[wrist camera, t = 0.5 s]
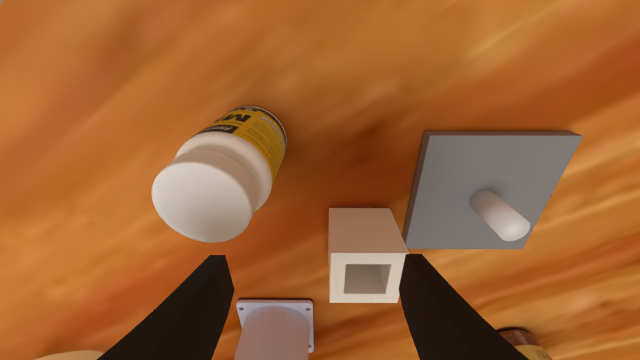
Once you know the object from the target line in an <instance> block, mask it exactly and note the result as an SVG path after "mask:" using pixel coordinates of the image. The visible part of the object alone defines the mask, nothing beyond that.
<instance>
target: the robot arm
mask: <svg viewBox="0 0 640 360" xmlns="http://www.w3.org/2000/svg"><path fill="white" fill-rule="evenodd" d="M233 293H234V286H233V283H232V279H231V275H230V272H229V268H228V264H227V260H226V257H225V255H210V256H209V257H208V258H207V259H206V260H205V261H204V262H203V263H202V264H201V265H200V266H199V267H198V268H197V269H196V270H195V271H194V272H193V273H192V274H191V275H190V276H189V277H188V278H187V279H186V280H185V281H184V282H183V283H182V284H181V285H180V286H179V287H178V288H177V289H176V290H175V291H174V292H173V293H171V294H170V295H169V296H168V297H167V298H166V299H165V300H164V301H163V302H162V303H161V304H160V305H159V306H158V307H157V308H156V309H155V310H154V311H153V312H152V313H150V314H149V315H148V316H147V317H146V318H145V319H144V320H143V321H142V322H141V323H139V324H138V325H137V326H136V327H135V328H134V329H133V330H132V331H131V332H129V333H128V334H127V335H126V336H125V337H124V338H122V339H121V340H120V341H119V342H118V343H117V344H115V345H114V346H113V347H112V348H111V349H109V350H108V351H107V352H106V353H104V354H103V355H102V356H101V357H99V358H98V359H97V360H211V359H212V356H213V354H214V351H215V348H216V346H217V343H218V340H219V338H220V335H221V333H222V330H223V327H224V325H225V322H226V319H227V316H228V313H229V309H230V305H231V301H232V297H233ZM399 293H400V298H401V302H402V306H403V310H404V314H405V318H406V321H407V324H408V327H409V329H410V332H411V335H412V338H413V341H414V344H415V347H416V349H417V352H418V355H419V358H420V360H529V359H528V358H527V357H526V356H524V355H523V354H522V353H521V352H520V351H519V350H517V349H516V348H515V347H514V346H513V345H511V344H510V343H509V342H508V341H507V340H506V339H505V338H504V337H503V336H501V335H500V334H499V333H498V332H497V331H496V330H495V329H494V328H493V327H492V326H491V325H490V324H489V323H487V322H486V321H485V320H484V319H483V318H482V317H481V316H480V315H479V314H478V313H477V312H476V311H475V310H474V309H473V308H472V307H471V306H470V305H469V304H468V303H467V302H466V301H465V300H464V299H463V298H462V297H461V296H460V295H459V294H458V293H457V292H456V291H455V290H454V289H453V288H452V287H451V285H450V284H449V283H448V282H447V281H446V280H445V279H444V278H443V277H442V276H441V275H440V274H439V273H438V271H437V270H436V269H435V268H434V267H433V266H432V265H431V264H430V263H429V262H428V261H427V260H426V258H425V257H424V256H423V255H422V254H406V255H405V260H404V265H403V270H402V275H401V279H400V284H399ZM236 307H237V311H238V315H239V319H240V322H241V326H242V332H241V336H240V339H239V343H238V346H237V350H236V353H235V357H234V360H308V353H311V352H313V351H314V333H313V302H312V301H310V300H238V301H237V303H236Z"/></svg>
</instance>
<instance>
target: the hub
mask: <svg viewBox="0 0 640 360" xmlns="http://www.w3.org/2000/svg"><path fill="white" fill-rule="evenodd" d="M406 254H409V252H408V249H407V247H406V245H405V242H404V240H403V238H402V235H401V233H400V231H399V228H398V226H397V224H396V221H395V219H394V217H393V214H392V212H391V210H390V208H329V231H328V267H329V300H330V303H397V302H398V298H399V294H400V293H399V284H400V279H401V275H402V270H403V265H404V260H405V255H406Z"/></svg>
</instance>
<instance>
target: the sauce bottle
mask: <svg viewBox="0 0 640 360" xmlns="http://www.w3.org/2000/svg"><path fill="white" fill-rule="evenodd" d="M498 333H499V334H500V335H501V336H503V337H504V338H505V339H506V340H507V341H508V342H509V343H510V344H511V345H513V346H514V347H515V348H516V349H517V350H519V351H520V352H521V353H522V354H523V355H524V356H526V357H527V358H528V359H529V360H552V359H551V357H550V356H549V354H548V353H547V352H546V350H545V349H544V348H542V347H541V346H540V345H539V343H538V342H537V340H536V339H535V338H534V337H533V335H531V334H529V333H528V332H527V331H524V330H519V329H517V330H507V331H501V332H498Z"/></svg>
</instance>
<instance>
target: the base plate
mask: <svg viewBox="0 0 640 360" xmlns="http://www.w3.org/2000/svg"><path fill="white" fill-rule="evenodd" d="M582 137H583V136H582V135H579V134H576V133H573V132H570V131H424V135H423V140H422V144H421V149H420V154H419V159H418V163H417V168H416V173H415V178H414V182H413V187H412V192H411V197H410V201H409V206H408V211H407V216H406V220H405V225H404V230H403V235H402V238H403V240H404V242H405V245H406V247H407V249H523V247H524V245H525V243H526V241H527V239H528V238H529V236H530V234H531V232H532V230H533V228H534V226H535V224H536V223H537V221H538V219H539V217H540V215H541V213H542V211H543V210H544V208H545V206H546V204H547V202H548V200H549V198H550V197H551V195H552V193H553V191H554V189H555V187H556V185H557V184H558V182H559V180H560V178H561V176H562V174H563V172H564V170H565V169H566V167H567V165H568V163H569V161H570V159H571V157H572V156H573V154H574V152H575V150H576V148H577V146H578V144H579V143H580V141H581V139H582Z"/></svg>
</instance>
